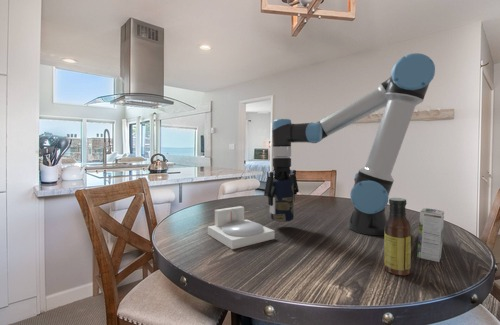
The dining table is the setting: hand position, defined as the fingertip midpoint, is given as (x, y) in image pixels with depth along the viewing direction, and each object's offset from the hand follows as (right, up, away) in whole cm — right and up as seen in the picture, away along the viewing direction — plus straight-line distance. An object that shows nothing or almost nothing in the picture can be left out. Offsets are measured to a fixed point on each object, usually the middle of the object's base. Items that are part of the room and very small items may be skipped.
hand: (282, 211), depth 110 cm
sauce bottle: (+26, -9, -38) cm, 47 cm away
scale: (-17, -7, -11) cm, 21 cm away
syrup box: (+42, -9, -28) cm, 51 cm away
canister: (0, -4, 0) cm, 4 cm away
